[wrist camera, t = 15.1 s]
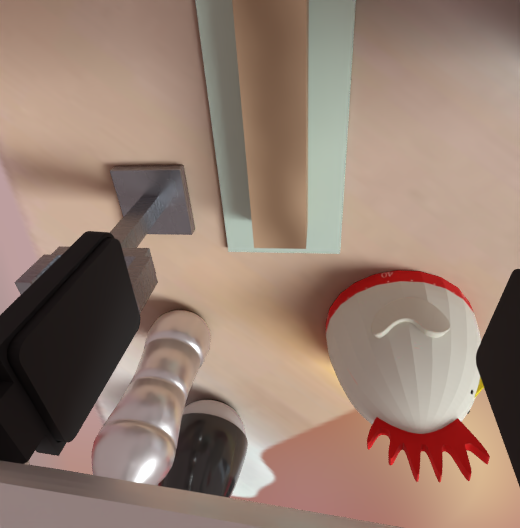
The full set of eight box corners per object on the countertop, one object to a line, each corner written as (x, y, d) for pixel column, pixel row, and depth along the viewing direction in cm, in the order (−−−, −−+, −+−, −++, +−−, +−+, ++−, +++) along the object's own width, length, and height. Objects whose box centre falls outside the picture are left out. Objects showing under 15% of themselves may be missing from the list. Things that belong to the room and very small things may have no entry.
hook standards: (118, -263, 19) (-149, -591, 8) (202, 229, 35) (147, 336, 24) (-14, -238, 20) (-404, -501, 9) (125, 228, 36) (40, 331, 25)
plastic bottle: (144, 315, 43) (35, 514, 26) (190, 292, 40) (98, 500, 24) (182, 351, 45) (104, 553, 29) (227, 332, 42) (168, 544, 26)
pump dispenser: (191, 436, 56) (154, 563, 43) (165, 389, 50) (113, 519, 38) (260, 434, 53) (241, 569, 41) (240, 385, 48) (211, 524, 35)
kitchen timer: (463, 371, 41) (521, 530, 29) (331, 373, 44) (335, 518, 32) (480, 264, 34) (569, 419, 21) (320, 274, 37) (318, 417, 24)
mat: (379, -389, 16) (380, -401, 16) (339, 250, 35) (340, 253, 34) (153, -341, 18) (149, -350, 17) (229, 248, 36) (228, 251, 36)
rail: (309, -271, 18) (306, -328, 15) (307, 223, 33) (306, 248, 30) (225, -256, 19) (204, -308, 15) (260, 222, 33) (254, 247, 30)
